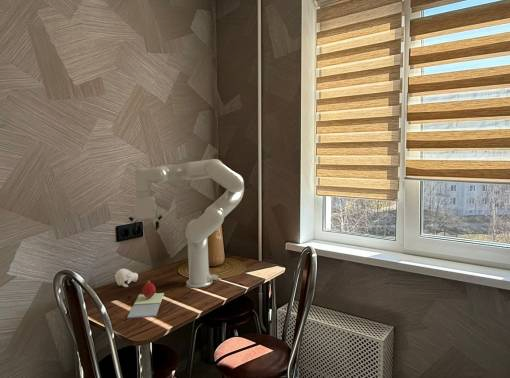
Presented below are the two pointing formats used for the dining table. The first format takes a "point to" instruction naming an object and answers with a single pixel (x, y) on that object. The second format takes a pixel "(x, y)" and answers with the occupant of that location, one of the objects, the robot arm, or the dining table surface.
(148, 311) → the toy mat
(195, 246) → the robot arm
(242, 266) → the dining table surface
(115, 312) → the dining table surface
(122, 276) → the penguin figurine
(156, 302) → the mat
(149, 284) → the onion
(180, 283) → the dining table surface
